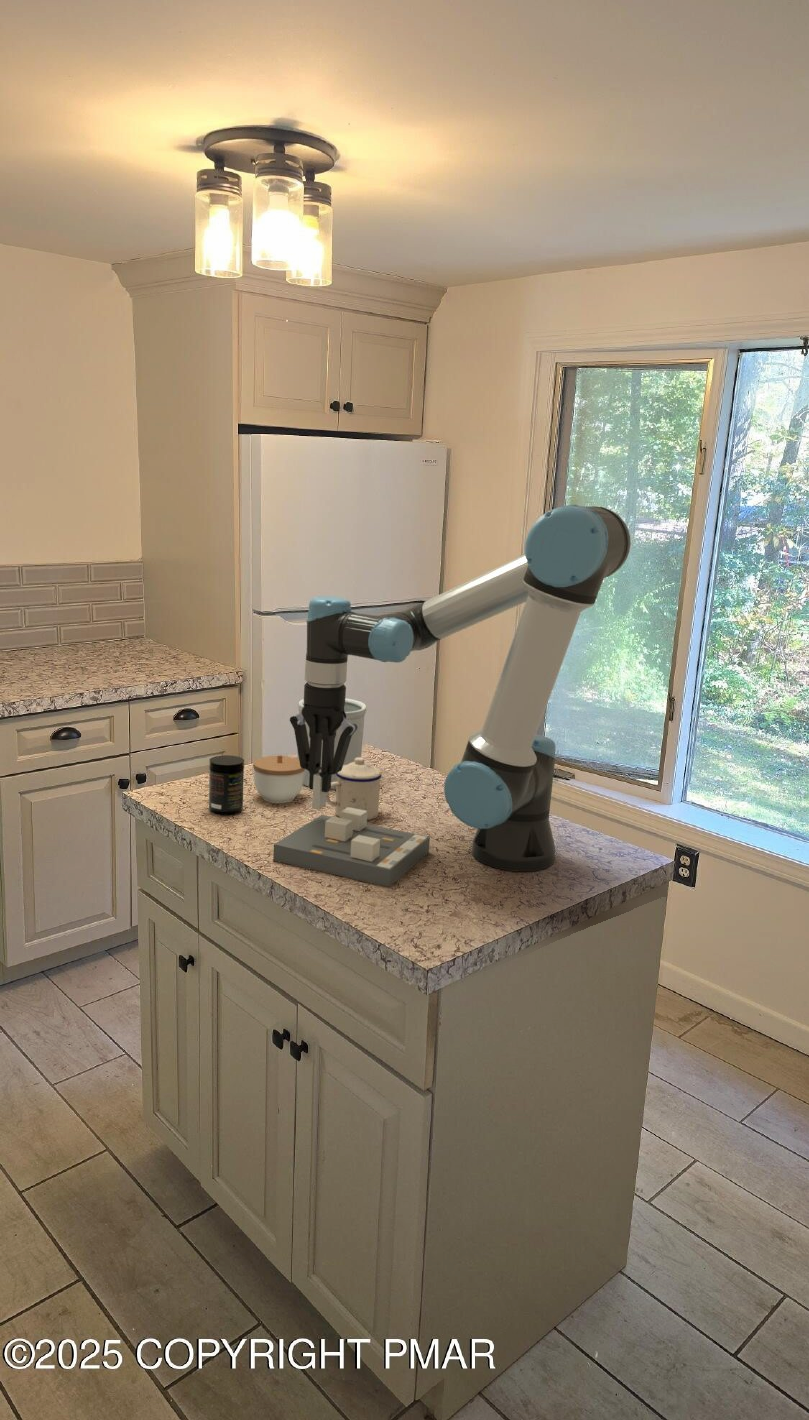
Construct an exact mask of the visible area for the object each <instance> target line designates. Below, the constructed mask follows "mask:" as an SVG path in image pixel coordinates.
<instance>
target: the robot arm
mask: <svg viewBox="0 0 809 1420" xmlns="http://www.w3.org/2000/svg"><path fill="white" fill-rule="evenodd" d="M526 536H527V537H526V540H525V546H524V554H523V555H520V556H518V557H516V558H514V559H512V560H510V561H509V560H508V561H507V562H506V563H505V562H504V563H503V564H501V565H499V566H497V567H495V568H493V569H491V570H489V571H486V572H483V573H482V574H480V575H478V576H476V577H473V578H472V579H469V580H468V581H466V582H464V583H461V584H459V585H457V586H455V587H453V588H451V589H448V590H447V591H445V592H442V593H440V594H438V595H436V596H434V597H432V598H429V599H427V600H425V601H424V602H422V603H419V604H417V605H414V606H413V607H411V608H408V609H405V610H402V611H396V612H393V613H392V612H391V613H386V614H385V613H384V614H380V615H377V614H376V615H375V614H364V613H359V612H355V611H352V604H351V601H350V600H349V599H348V598H343V597H338V596H316V597H312V599H310V600H309V604H308V612H307V620H306V653H305V668H304V680H305V681H306V683H305V684H303V687H304V689H303V699H304V707H303V708H302V713H300V714H299V713H298V714H296V715H293V716H292V715H291V716H290V718H289V722H290V723H291V726H292V728H293V731H294V737H295V743H296V748H297V749H296V750H297V751H298V755H299V761H300V766H301V768H303V769H304V768H305V769H306V770H308V771H309V773H310V777H309V786H308V787H309V790H312V801H311V809H313V810H318V811H320V810H321V809H323V808H325V807H326V806H327V802H326V793H327V792H328V791H329V792H330V791H331V790H332V789H331V777H332V774H336V773H338V772H340V771H341V770H342V767H343V764H344V760H345V757H346V754H347V750H348V747H349V743H350V740H351V737H352V735H353V734H354V732H355V731H356V730H357V725H356V724H351V723H350V722H349V721H348V720H347V719H346V714H345V711H344V706H345V698H346V694H347V693H346V692H347V687H346V685H345V683H346V682H347V675H348V674H347V672H348V657H349V656H354V657H359V658H365V659H370V660H374V661H378V662H382V663H387V662H389V663H401V662H404V661H405V660H406V659H407V657H408V656H410V654H411V652H415V651H422V650H424V649H427V648H430V647H431V646H433V645H435V644H436V643H437V642H439V641H440V640H442V639H445V638H448V637H450V636H452V635H454V634H457V633H458V632H461V631H463V630H465V629H467V628H470V627H472V626H475V625H477V624H479V623H481V622H484V621H485V620H488V619H490V618H493V617H494V616H498V615H499V614H502V613H504V612H506V611H509V610H510V609H513V608H515V607H517V606H520V605H522V604H524V603H525V604H524V606H523V609H522V612H521V614H520V615H521V616H520V618H519V620H518V623H517V627H516V630H515V633H514V635H513V639H512V642H511V643H510V647H509V649H508V653H507V655H506V659H505V662H504V664H503V667H502V671H501V673H500V676H499V679H498V682H497V683H496V684H497V685H496V686H495V687H496V688H495V690H494V693H493V697H492V700H491V703H490V705H489V707H488V711H487V714H486V717H485V720H484V723H483V726H482V729H480V730H477V731H476V732H473V733H472V734H471V735H470V736H469V738H468V740H467V744H466V747H465V750H464V753H463V756H462V758H461V761H460V762H459V763H457V764H455V765H454V766H453V768H452V769H450V770H449V772H448V774H447V775H446V778H445V781H444V784H443V785H444V787H443V789H444V791H443V792H444V793H443V794H444V798H445V801H446V804H448V808H450V811H451V813H452V814H453V815H454V817H456V818H457V820H459V821H460V822H461V823H463V824H464V825H465V826H469V827H470V828H474V829H477V830H476V831H475V834H474V836H473V838H472V845H471V855H472V856H473V857H474V859H475V860H477V861H478V862H480V863H482V864H484V865H486V866H489V867H492V868H495V869H500V870H503V871H505V870H506V871H511V872H536V871H540V869H541V870H545V869H548V868H549V867H551V866H552V865H553V864H555V860H556V859H555V858H556V845H555V841H554V835H553V832H552V828H551V824H550V813H551V804H552V803H551V801H552V791H553V783H554V772H555V764H556V760H557V757H556V756H557V755H556V744H555V741H554V739H551V738H549V737H547V736H544V735H541V734H538V731H539V728H540V725H541V722H542V720H543V717H544V713H545V712H546V708H547V706H548V703H549V701H550V698H551V695H552V691H553V690H554V687H555V684H556V681H557V679H558V676H559V673H560V670H561V667H562V665H563V663H564V662H563V661H564V659H565V657H566V654H567V652H568V648H569V645H570V642H571V640H572V637H573V634H574V632H575V629H576V626H577V623H578V621H579V618H580V615H581V612H583V611H585V610H586V609H589V608H591V607H593V606H594V605H595V604H596V601H597V598H598V595H599V592H600V589H601V587H602V585H603V581H604V579H605V578H608V577H610V576H612V575H613V574H615V573H617V572H618V571H619V570H620V569H621V568H622V566H623V565H624V563H625V562H626V560H627V559H628V557H629V555H630V550H631V544H632V543H631V535H630V530H629V529H628V526H627V524H626V522H625V521H624V519H623V518H622V517H621V516H620V515H619V514H618V513H616V512H615V511H613V510H611V509H609V508H606V507H603V506H593V505H592V506H587V505H586V506H585V505H583V506H582V505H579V504H568V505H562V506H558V507H556V508H554V509H550V510H548V511H547V512H545V513H544V514H542V515H541V516H540V517H539V518H537V520H536V521H535V522H534V523H533V524H532V526H531V527H530V529H529V531H528V533H527V535H526ZM305 722H306V723H307V725H308V726H309V728H310V729H309V737H310V747H309V741H308V735H307V729H306V725H305ZM341 725H342V728H341V732H342V734H341V736H340V739H339V742H338V745H337V749H336V752H335V756H334V742H335V737H336V731H337V730H338V728H339V727H340V726H341ZM322 740H323V746H322ZM321 750H322V766H321ZM320 769H321V771H320V772H319V770H320Z"/></svg>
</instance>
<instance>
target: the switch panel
mask: <svg viewBox="0 0 809 1420" xmlns="http://www.w3.org/2000/svg"><path fill="white" fill-rule="evenodd" d="M331 817H332V816H331V815H324V814H321V815H319V816H318V817H316V818H314V819H313V820H311V821H310V822H308V823H306V824H305V825H303V826H301V827H300V828H298V829H296V830H294V831H293V832H292V833H290V834H288V835H286V836H285V837H283V838H282V839H280V840H279V841H277V842H275V843H274V844H273V854H272V856H273V858H272V859H273V860H272V861H274V862H278V861H280V862H279V863H282V862H283V864H286V863H287V864H286V865H291V864H292V865H291V866H296V867H299V866H301V867H300V868H304V869H309V870H312V869H313V871H317V872H322V873H326V874H332V875H336V876H338V877H345V878H348V879H353V880H357V881H361V882H366V883H371V884H374V885H377V886H382V887H388V888H390V887H391V886H392V885H393V884H395V882H397V881H398V880H399V879H400V878H401V877H402V876H403V875H405V874H406V873H407V872H408V871H409V870H410V869H411V868H413V867H414V866H416V865H417V863H419V861H421V860H422V859H423V858H424V857H425V856H426V855H427V854H429V852H430V840H431V839H430V838H431V836H427V835H423V834H417V833H413V832H408V831H403V830H399V829H398V830H397V829H393V828H388V827H383V826H378V825H373V824H369V823H367V826H366V827H365V828H364V829H362V830H361V831H356V830H353V833H352V837H351V838H349V839H348V840H346V841H340V840H336V839H331V838H326V837H325V821H327V820H328V819H330V818H331ZM358 835H362V836H367V837H371V838H376V839H380V852H379V857H377V858H376V859H375V860H373V861H372V862H371V861H366V860H362V859H357V858H353V857H350V856H351V840H352V839H354V838H355V837H357V836H358Z"/></svg>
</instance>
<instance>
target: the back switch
mask: <svg viewBox="0 0 809 1420" xmlns="http://www.w3.org/2000/svg"><path fill="white" fill-rule="evenodd" d="M339 818H344V819H348V820H353V830H356V831H361V830H362V829H364V828H365V827H366V826H367V824H368V820H367V811H365V810H360V809H355V808H350V807H347V808H346V809H344V810H342V811H341V813H340V817H339Z"/></svg>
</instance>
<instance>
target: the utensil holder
mask: <svg viewBox="0 0 809 1420" xmlns="http://www.w3.org/2000/svg"><path fill="white" fill-rule="evenodd" d="M297 706H298V707H297V708H298V711H299V713H298V714H300V713H302V708H303V707H304V698H302V699H301V700H299V701H298V705H297ZM344 711H345V714H346V719H347V720H348V721H349V722H350V723H351V724H356V725H357V730H356V731H355V732H354V734H353V735H352V737H351V740H350V743H349V747H348V750H347V754H346V757H345V760H344V764H343V765H348V764H349V763H352V762H354V760H355V758H357V757H361V758H362V753H363V740H364V739H363V738H364V727H365V715H366V713H367V705H366V704H365V703H364V702H363V701H359V700H355V699H352V698H347V697H345V706H344ZM305 725H306V729H307V735H308V741H309V747H310V737H309V729H310V728H309V726H308V725H307V723H306V722H305ZM341 728H342V725H341V726H340V727H339V728H338V730H337V731H336V737H335V742H334V756H335V752H336V749H337V745H338V742H339V739H340V736H341V734H342V732H341ZM322 746H323V740H322ZM296 754H297V755H296V758H297V759H299V755H298V750H297V753H296ZM321 766H322V750H321ZM320 771H321V769H320V770H319V772H320ZM309 777H310V773H309V771H308V770H306V769H305V778H304V783H303V786H305V787H309ZM331 782H337V775H336V774H332V777H331ZM330 790H333V791H335V790H336V786H334V787H332V788H331V789H330Z"/></svg>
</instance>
